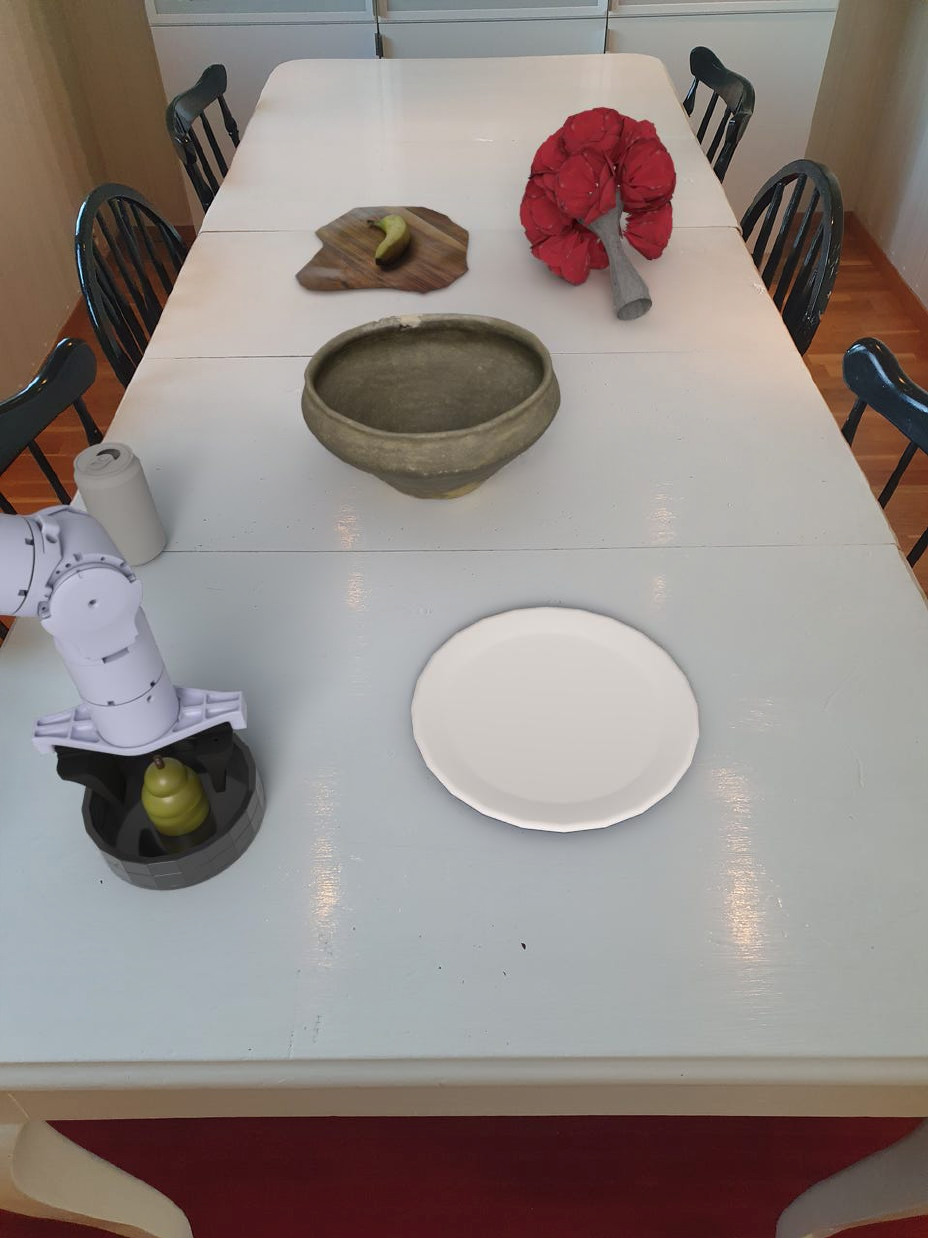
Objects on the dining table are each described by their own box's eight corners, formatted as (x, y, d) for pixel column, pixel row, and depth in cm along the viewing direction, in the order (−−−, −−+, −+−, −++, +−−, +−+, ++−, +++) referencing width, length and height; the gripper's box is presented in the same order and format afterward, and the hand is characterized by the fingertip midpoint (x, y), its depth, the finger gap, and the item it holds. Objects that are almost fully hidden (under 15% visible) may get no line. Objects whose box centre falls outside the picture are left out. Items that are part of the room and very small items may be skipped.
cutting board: (468, 296, 136) (467, 271, 134) (288, 298, 137) (284, 273, 134) (471, 205, 161) (470, 183, 158) (318, 207, 162) (315, 185, 159)
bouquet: (688, 337, 140) (631, 177, 147) (738, 235, 117) (668, 52, 124) (553, 365, 138) (503, 202, 145) (578, 268, 115) (516, 79, 122)
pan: (152, 925, 67) (136, 898, 64) (68, 814, 73) (51, 786, 71) (297, 816, 73) (289, 788, 70) (207, 724, 80) (197, 694, 77)
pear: (170, 847, 70) (144, 793, 65) (140, 811, 73) (113, 756, 68) (220, 811, 73) (199, 756, 67) (190, 777, 75) (167, 722, 70)
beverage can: (179, 538, 98) (149, 444, 89) (146, 576, 94) (111, 482, 85) (129, 526, 99) (95, 434, 91) (94, 564, 95) (55, 470, 87)
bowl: (603, 493, 102) (615, 382, 92) (385, 583, 92) (372, 469, 82) (473, 383, 119) (472, 279, 109) (278, 449, 109) (256, 341, 99)
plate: (497, 582, 92) (497, 572, 91) (737, 673, 83) (740, 663, 82) (355, 757, 77) (353, 749, 76) (628, 892, 68) (630, 884, 67)
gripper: (230, 618, 64) (265, 735, 74) (19, 644, 63) (83, 759, 73) (228, 693, 59) (265, 808, 69) (-1, 723, 58) (69, 836, 68)
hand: (171, 788), depth 70 cm, fingers open, 7 cm apart
